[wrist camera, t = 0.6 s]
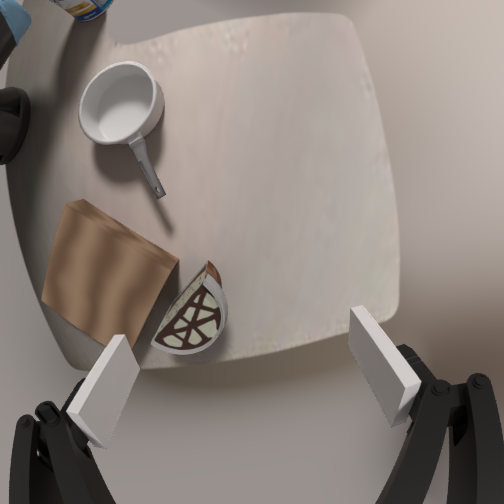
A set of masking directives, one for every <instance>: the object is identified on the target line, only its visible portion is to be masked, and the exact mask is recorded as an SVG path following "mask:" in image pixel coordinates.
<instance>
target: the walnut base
mask: <svg viewBox="0 0 504 504" xmlns="http://www.w3.org/2000/svg"><path fill="white" fill-rule="evenodd" d="M178 260H179V259H178V258H176V257H175V256H173V255H171V254H170V253H168V252H166V251H165V250H163V249H161V248H160V247H158V246H156V245H155V244H153V243H151V242H150V241H148V240H146V239H145V238H143V237H142V236H140V235H138V234H137V233H135V232H134V231H132V230H130V229H129V228H127V227H126V226H124V225H122V224H121V223H119V222H118V221H116V220H115V219H113V218H111V217H110V216H108V215H107V214H105V213H104V212H102V211H101V210H99V209H98V208H96V207H95V206H93V205H92V204H90V203H88V202H87V201H85V200H84V199H82V200H78V201H74V202H70V203H67V204H65V207H64V210H63V213H62V216H61V219H60V222H59V225H58V229H57V232H56V236H55V239H54V243H53V247H52V251H51V255H50V259H49V263H48V268H47V272H46V277H45V282H44V288H43V293H42V301H43V302H44V303H45V304H47V305H48V306H49V307H50V308H52V309H53V310H54V311H56V312H57V313H58V314H59V315H61V316H62V317H63V318H65V319H66V320H68V321H69V322H70V323H72V324H73V325H74V326H76V327H77V328H79V329H80V330H82V331H83V332H85V333H86V334H88V335H89V336H91V337H92V338H94V339H95V340H97V341H98V342H100V343H101V344H103V345H104V346H106V347H107V345H108V344H109V342H110V341H111V339H112V338H113V336H114V335H122V334H125V336H126V338H127V341H128V343H129V345H130V348H131V350H132V349H133V347H134V345H135V344H136V342H137V340H138V337H139V335H140V333H141V331H142V329H143V327H144V325H145V323H146V321H147V319H148V317H149V315H150V313H151V311H152V309H153V307H154V305H155V303H156V301H157V299H158V297H159V296H160V294H161V292H162V290H163V288H164V286H165V284H166V282H167V280H168V278H169V277H170V275H171V273H172V271H173V269H174V267H175V265H176V264H177V262H178Z"/></svg>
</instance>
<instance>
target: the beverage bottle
mask: <svg viewBox="0 0 504 504" xmlns="http://www.w3.org/2000/svg"><path fill="white" fill-rule="evenodd" d="M49 1H52V2H54V3H56V4H57V5H58V6H60V7H61V8H63V9H64V10H65V11H67V12H68V13H69V14H71V15H72V16H73V17H74V18H76V19H77V20H78V21H89V20H92V19H94V18H96V17H98V16H99V15H101V14H102V13H103V12H105V11H106V10H107V9H108V8H109V6H110V5H111V4H112V2H113V0H49Z"/></svg>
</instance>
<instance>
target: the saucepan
mask: <svg viewBox="0 0 504 504" xmlns="http://www.w3.org/2000/svg"><path fill="white" fill-rule="evenodd" d="M163 108H164V96H163V92H162V89H161V87H160V85H159V84H158V82H157V81H156V80H155V79H154V76H153V74H152V73H151V72H150V70H149V69H148V68H146V67H145V66H144V65H142V64H140V63H137V62H132V61H123V62H118V63H115V64H112V65H110V66H108V67H106V68H104V69H103V70H101V71H100V72H99V73H98V74H97V75H95V76H94V78H93V79H92V80H91V81H90V82H89V84H88V85H87V87H86V88H85V90H84V92H83V94H82V97H81V100H80V104H79V111H78V116H79V123H80V126H81V129H82V130H83V132H84V134H85V135H86V136H87V137H88V138H89V139H90V140H92V141H93V142H95V143H98V144H103V145H112V144H129V147H130V149H131V150H132V151H133V152H134V154H135V157H136V158H137V160H138V162H139V164H140V166H141V168H142V170H143V172H144V174H145V176H146V178H147V180H148V182H149V184H150V186H151V188H152V190H153V192H154V194H155V196H156V198H157V199H159V198H161V197H163V196H165V195H166V193H165V191H164V189H163V187H162V185H161V183H160V181H159V179H158V177H157V175H156V173H155V171H154V169H153V167H152V165H151V162H150V160H149V158H148V154H147V148H146V141H145V139H144V138H143V137H145V136H146V135H147V134H149V133H150V132H151V131H152V129H153V128H154V127H155V126H156V124H157V123H158V121H159V119H160V117H161V115H162V111H163ZM157 187H158V188H159V190H160V193H159V192H158V191H157Z"/></svg>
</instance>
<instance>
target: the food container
mask: <svg viewBox="0 0 504 504" xmlns="http://www.w3.org/2000/svg"><path fill="white" fill-rule="evenodd" d="M227 316H228V306H227V301H226V298H225V295H224V293H223V291H222V287H221V278H220V275H219V273H218V271H217V269H216V268H215V267H214V265H213V264H212V263H211V262H210V261H209V260H208V261H207V262H206V263H205V265H204V266H203V267H202V268H201V269H200V270H199V272H198V273H197V274H196V275H195V276H194V277H193V279H192V280H191V281H190V282H189V283H188V284H187V286H186V287H185V288H184V289H183V290H182V291H181V293H180V294H179V295H178V296H177V297H176V299H175V300H174V301H173V302H172V303H171V305H170V307H169V309H168V311H167V313H166V315H165V317H164V319H163V321H162V323H161V324H160V326H159V328H158V330H157V332H156V334H155V336H154V337H153V338H152V341H151V345H152V346H154V347H156V348H158V349H160V350H162V351H165V352H168V353H172V354H179V355H187V354H193V353H197V352H200V351H202V350H204V349H206V348H207V347H209V346H210V345H211V344H213V343H214V342H215V341H216V340H217V338H218V337H219V336H220V334H221V332H222V330H223V328H224V327H225V324H226V321H227Z"/></svg>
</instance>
